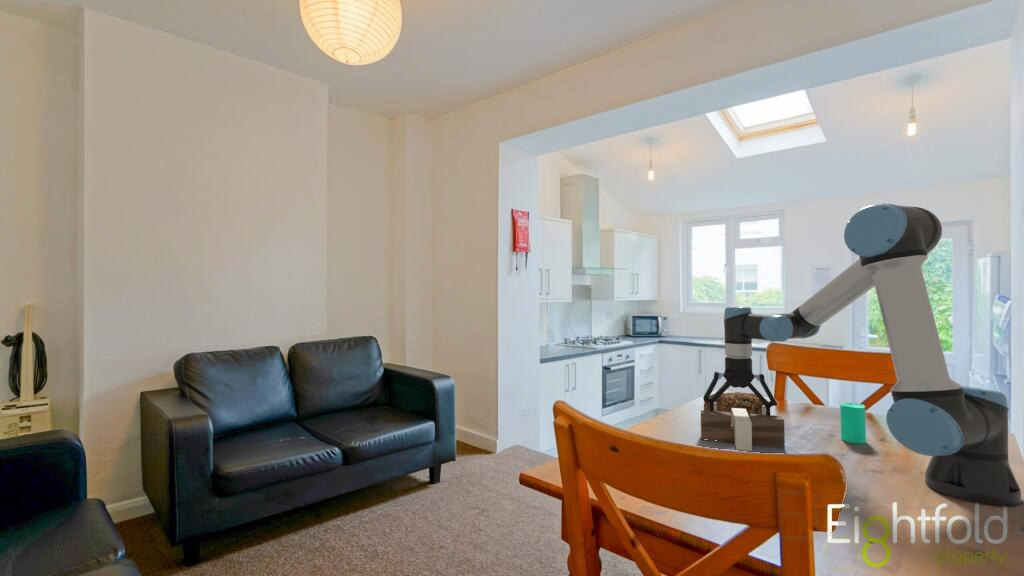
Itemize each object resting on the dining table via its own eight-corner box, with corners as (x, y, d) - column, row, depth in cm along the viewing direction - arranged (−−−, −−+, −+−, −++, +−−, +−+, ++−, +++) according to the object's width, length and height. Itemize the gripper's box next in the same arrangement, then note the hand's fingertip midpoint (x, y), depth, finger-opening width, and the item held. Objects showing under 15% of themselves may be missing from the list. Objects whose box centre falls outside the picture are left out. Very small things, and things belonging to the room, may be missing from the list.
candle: (857, 437, 142) (856, 397, 142) (870, 443, 136) (869, 402, 136) (836, 437, 142) (835, 397, 142) (848, 443, 136) (847, 402, 137)
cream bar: (752, 451, 131) (751, 422, 131) (736, 449, 132) (735, 421, 132) (746, 434, 146) (745, 408, 146) (731, 433, 147) (731, 407, 147)
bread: (721, 428, 153) (720, 397, 153) (702, 419, 164) (702, 391, 164) (771, 425, 156) (771, 395, 156) (750, 416, 167) (750, 388, 167)
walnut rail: (784, 447, 133) (784, 419, 133) (701, 439, 141) (700, 413, 141) (782, 443, 137) (781, 416, 137) (701, 436, 145) (700, 410, 145)
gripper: (782, 356, 143) (783, 426, 143) (694, 353, 152) (695, 419, 152) (787, 360, 136) (788, 433, 136) (694, 356, 145) (695, 425, 145)
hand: (739, 426), depth 144 cm, fingers open, 13 cm apart
